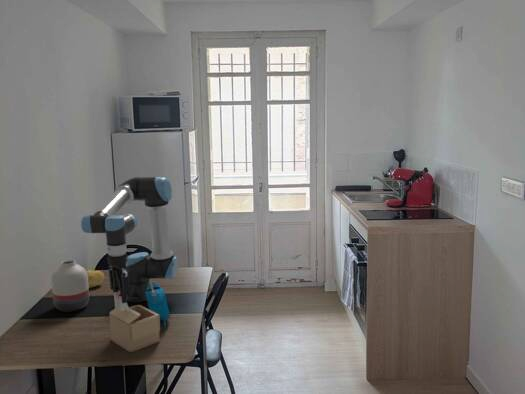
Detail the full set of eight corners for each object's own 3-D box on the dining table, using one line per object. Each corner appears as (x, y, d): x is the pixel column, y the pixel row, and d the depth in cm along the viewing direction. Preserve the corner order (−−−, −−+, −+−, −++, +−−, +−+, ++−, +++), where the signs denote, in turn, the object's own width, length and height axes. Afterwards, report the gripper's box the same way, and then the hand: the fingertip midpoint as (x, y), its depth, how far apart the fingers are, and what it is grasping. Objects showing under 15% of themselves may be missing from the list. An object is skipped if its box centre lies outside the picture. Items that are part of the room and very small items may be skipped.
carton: (110, 339, 220) (108, 313, 218) (140, 329, 230) (138, 304, 228) (130, 353, 208) (129, 325, 206) (161, 341, 218) (160, 314, 216)
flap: (109, 313, 218) (100, 293, 213) (123, 304, 222) (114, 284, 217) (128, 324, 206) (119, 303, 202) (142, 314, 210) (133, 294, 206)
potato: (79, 285, 289) (77, 268, 287) (105, 283, 291) (104, 267, 289) (75, 291, 279) (74, 274, 277) (103, 289, 281) (101, 272, 280)
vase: (66, 300, 266) (62, 256, 262) (96, 302, 263) (92, 257, 259) (46, 313, 250) (42, 266, 246) (78, 315, 247) (74, 268, 243)
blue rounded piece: (171, 327, 232) (169, 285, 228) (148, 330, 229) (145, 287, 225) (168, 313, 247) (166, 273, 244) (146, 315, 245) (144, 275, 241)
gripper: (98, 251, 211) (103, 305, 215) (118, 260, 199) (123, 316, 204) (115, 248, 216) (119, 300, 221) (136, 255, 204) (139, 311, 209)
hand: (121, 308), depth 212 cm, fingers closed on flap, 4 cm apart
